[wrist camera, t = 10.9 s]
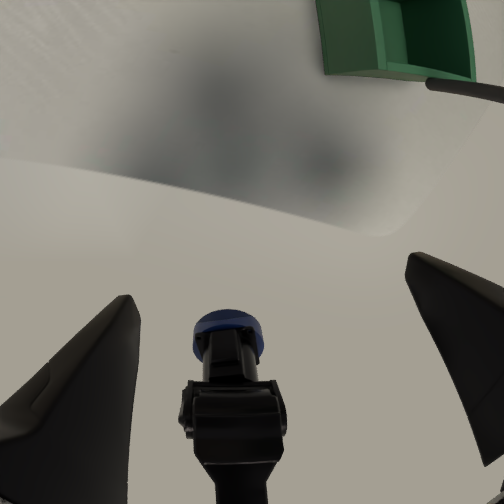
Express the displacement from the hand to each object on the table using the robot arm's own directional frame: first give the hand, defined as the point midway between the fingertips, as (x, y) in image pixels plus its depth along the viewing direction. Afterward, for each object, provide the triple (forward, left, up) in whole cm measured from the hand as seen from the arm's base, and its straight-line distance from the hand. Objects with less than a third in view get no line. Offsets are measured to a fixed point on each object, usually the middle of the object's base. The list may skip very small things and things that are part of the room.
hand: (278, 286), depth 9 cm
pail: (+10, -6, -6) cm, 13 cm away
